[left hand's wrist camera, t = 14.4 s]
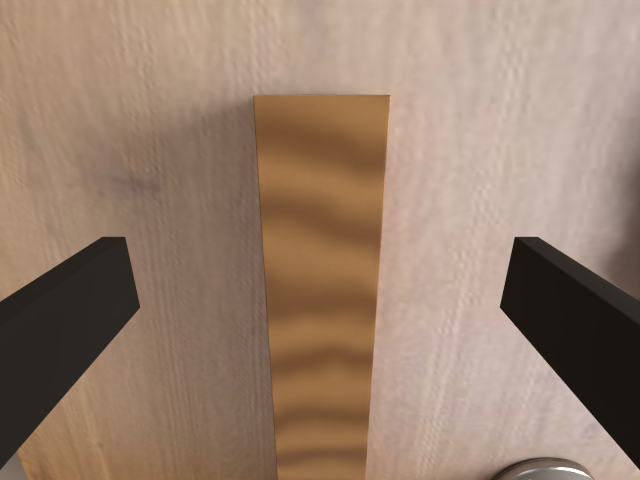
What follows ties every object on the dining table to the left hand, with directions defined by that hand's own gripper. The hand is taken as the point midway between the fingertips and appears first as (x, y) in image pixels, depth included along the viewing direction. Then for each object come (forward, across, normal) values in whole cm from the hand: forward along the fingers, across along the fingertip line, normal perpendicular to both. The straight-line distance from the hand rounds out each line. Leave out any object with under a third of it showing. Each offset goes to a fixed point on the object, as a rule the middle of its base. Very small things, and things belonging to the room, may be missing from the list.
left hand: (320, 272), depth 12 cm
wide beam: (+22, 0, -22) cm, 32 cm away
